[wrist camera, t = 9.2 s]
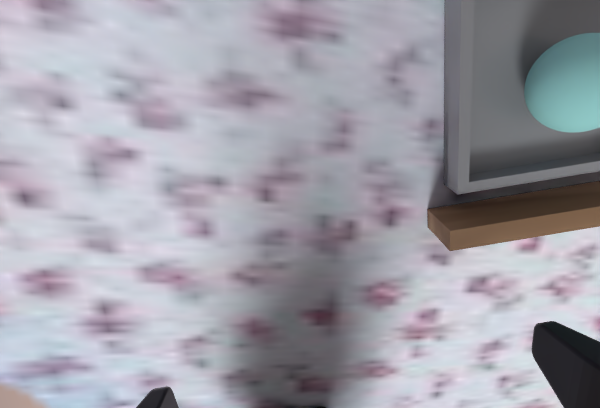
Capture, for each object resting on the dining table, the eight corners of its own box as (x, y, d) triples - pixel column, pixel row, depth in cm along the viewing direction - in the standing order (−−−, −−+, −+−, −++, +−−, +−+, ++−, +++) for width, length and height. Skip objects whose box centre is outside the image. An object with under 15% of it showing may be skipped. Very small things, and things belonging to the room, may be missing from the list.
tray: (611, 157, 22) (637, 165, 20) (444, 184, 22) (457, 194, 20) (646, -42, 18) (682, -51, 16) (444, -11, 18) (461, -17, 16)
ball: (574, 117, 20) (660, 130, 16) (501, 131, 20) (571, 148, 16) (586, 30, 19) (684, 20, 15) (506, 43, 18) (585, 37, 14)
